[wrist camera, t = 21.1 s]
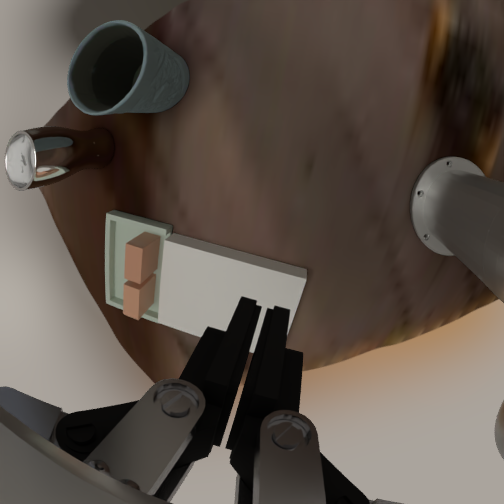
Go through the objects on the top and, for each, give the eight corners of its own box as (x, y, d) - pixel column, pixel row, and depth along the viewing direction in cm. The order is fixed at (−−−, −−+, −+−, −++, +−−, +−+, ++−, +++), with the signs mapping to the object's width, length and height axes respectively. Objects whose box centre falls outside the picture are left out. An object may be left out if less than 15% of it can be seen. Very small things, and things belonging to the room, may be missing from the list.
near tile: (142, 248, 35) (125, 243, 35) (140, 284, 37) (124, 278, 37) (160, 236, 39) (144, 231, 39) (157, 268, 41) (142, 263, 41)
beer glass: (90, 179, 39) (14, 203, 25) (76, 139, 37) (-2, 150, 23) (124, 158, 37) (44, 174, 23) (108, 115, 35) (27, 116, 21)
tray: (172, 225, 39) (166, 229, 37) (164, 316, 45) (158, 323, 43) (114, 209, 40) (106, 213, 38) (112, 297, 46) (106, 302, 44)
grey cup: (198, 109, 33) (150, 98, 22) (129, 126, 35) (68, 127, 24) (190, 38, 30) (144, 4, 19) (123, 59, 32) (65, 43, 21)
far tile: (139, 290, 37) (123, 284, 37) (138, 320, 39) (123, 313, 39) (156, 274, 42) (141, 269, 42) (153, 302, 43) (139, 297, 44)
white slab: (306, 269, 38) (306, 279, 35) (280, 346, 43) (278, 359, 40) (174, 232, 39) (164, 240, 37) (166, 311, 44) (157, 322, 42)
